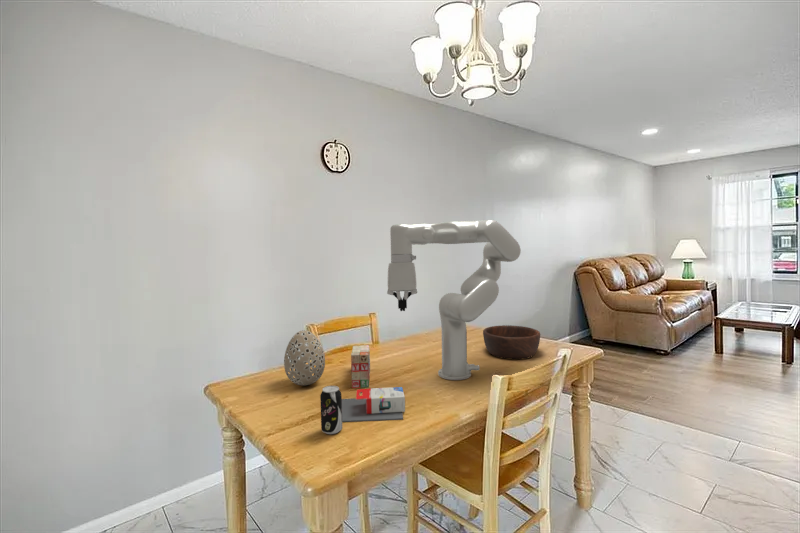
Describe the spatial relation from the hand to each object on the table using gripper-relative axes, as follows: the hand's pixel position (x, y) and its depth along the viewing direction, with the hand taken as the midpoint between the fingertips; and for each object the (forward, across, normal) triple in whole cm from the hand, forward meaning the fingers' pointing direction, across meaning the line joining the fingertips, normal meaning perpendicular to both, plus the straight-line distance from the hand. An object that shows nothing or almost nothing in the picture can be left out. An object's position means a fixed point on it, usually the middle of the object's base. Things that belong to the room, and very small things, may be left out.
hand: (402, 310), depth 141 cm
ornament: (+27, +36, -4) cm, 45 cm away
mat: (+27, +12, +20) cm, 36 cm away
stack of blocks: (+28, +16, -9) cm, 33 cm away
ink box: (+24, +1, +20) cm, 31 cm away
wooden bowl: (+27, -51, -34) cm, 67 cm away
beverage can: (+27, +22, +33) cm, 48 cm away
